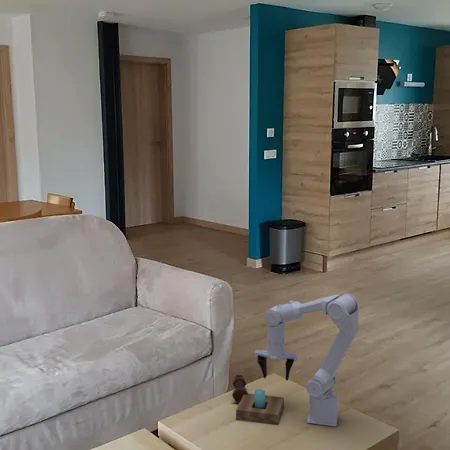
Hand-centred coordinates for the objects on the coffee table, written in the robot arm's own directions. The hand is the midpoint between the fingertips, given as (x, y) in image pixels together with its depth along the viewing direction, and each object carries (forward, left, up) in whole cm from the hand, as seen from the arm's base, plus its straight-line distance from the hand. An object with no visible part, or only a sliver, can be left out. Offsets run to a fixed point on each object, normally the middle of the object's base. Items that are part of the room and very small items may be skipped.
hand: (276, 378), depth 204 cm
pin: (+4, +8, -9) cm, 13 cm away
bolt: (+14, -5, -10) cm, 18 cm away
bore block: (+4, +7, -10) cm, 13 cm away
